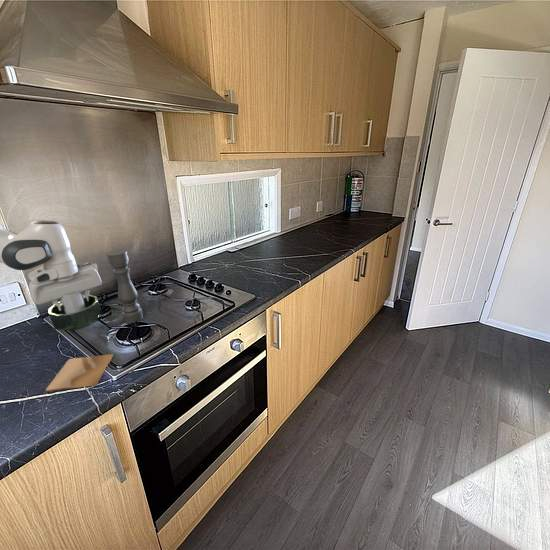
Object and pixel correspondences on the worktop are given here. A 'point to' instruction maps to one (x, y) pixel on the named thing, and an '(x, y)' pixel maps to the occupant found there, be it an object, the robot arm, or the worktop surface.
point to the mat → (80, 372)
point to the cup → (73, 302)
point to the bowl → (75, 315)
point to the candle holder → (125, 286)
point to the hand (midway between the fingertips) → (74, 305)
